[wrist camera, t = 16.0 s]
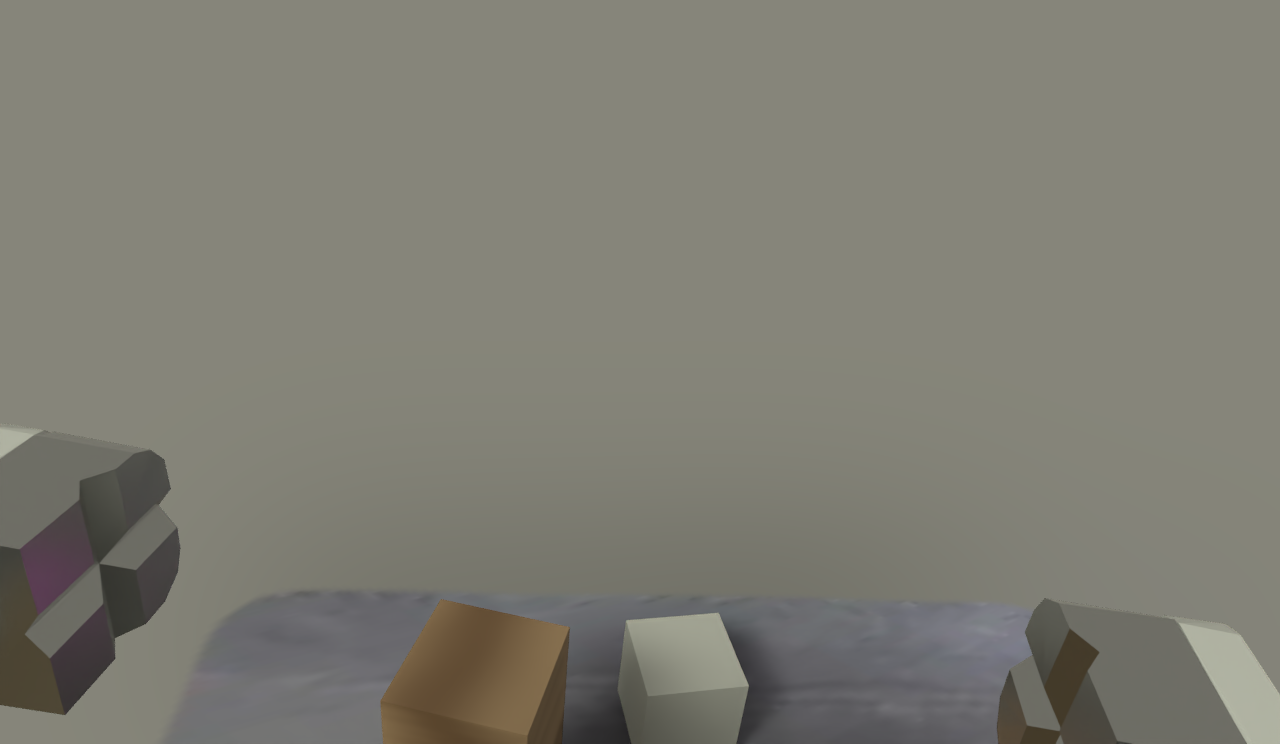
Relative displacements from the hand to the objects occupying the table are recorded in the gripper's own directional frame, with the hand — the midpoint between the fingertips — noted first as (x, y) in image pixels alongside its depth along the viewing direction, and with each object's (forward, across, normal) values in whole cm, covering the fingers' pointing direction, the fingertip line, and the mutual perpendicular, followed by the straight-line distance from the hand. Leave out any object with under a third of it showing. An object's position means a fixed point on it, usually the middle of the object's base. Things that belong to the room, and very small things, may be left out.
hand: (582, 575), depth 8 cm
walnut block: (+16, +5, +27) cm, 32 cm away
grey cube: (+27, -2, +32) cm, 42 cm away
